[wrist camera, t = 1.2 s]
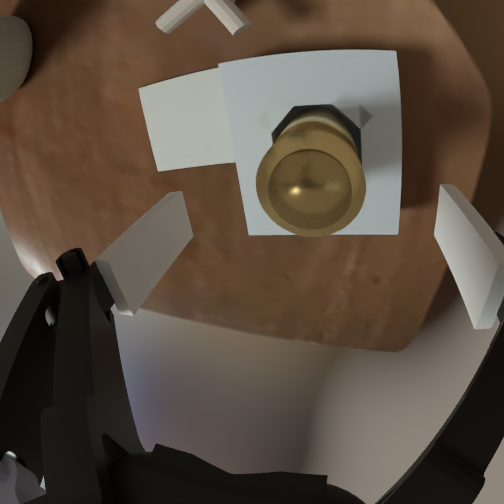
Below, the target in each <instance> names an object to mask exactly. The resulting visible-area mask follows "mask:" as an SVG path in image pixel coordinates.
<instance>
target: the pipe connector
mask: <svg viewBox="0 0 504 504" xmlns="http://www.w3.org/2000/svg"><path fill="white" fill-rule="evenodd" d="M205 4H206V5H207V6H208V8H209V9H210V10H211V11H212V12H213V13H214V14H215V15H216V16H217V18H218V19H219V20H220V21H221V22H222V23H223V24H224V25H225V27H226V28H227V29H228V30H229V31H230V32H231V34H232V35H233V36H237V35H239V34H241V33H243V32H245V31H246V30H247V29H249V28H250V27H251V25H252V23H251V22H250V21H249V19H248V18H247V17H246V16H245V15H244V14H243V13H242V11H241V10H240V9H239V8H238V7H237V6H236V5H235V0H179V1H178V2H177V3H176V4H174V5H173V6H172V7H171V8H170V9H169V10H168V11H166V12H165V13H164V14H163V15H162V16H161V17H160V18H159V19H158V20H157V21H156V25H157V26H158V27H159V28H160V29H161V30H162V31H163V32H165V33H167V34H170V33H171V32H172V31H174V30H175V29H176V28H177V27H178V26H179V25H180V24H182V23H183V22H184V21H185V20H186V19H187V18H189V17H190V16H191V15H192V14H193V13H195V12H196V11H197V10H198V9H200V8H201V7H202V6H203V5H205Z"/></svg>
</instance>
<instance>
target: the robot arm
mask: <svg viewBox="0 0 504 504" xmlns="http://www.w3.org/2000/svg"><path fill="white" fill-rule="evenodd" d="M434 236H435V238H436V240H437V242H438V244H439V246H440V248H441V250H442V252H443V254H444V256H445V258H446V261H447V263H448V265H449V267H450V269H451V272H452V274H453V276H454V278H455V281H456V283H457V285H458V288H459V290H460V293H461V295H462V297H463V300H464V303H465V305H466V308H467V310H468V313H469V316H470V318H471V321H472V324H473V327H474V329H485V328H491V327H492V325H493V323H494V321H495V318H496V316H498V319H499V321H500V325H499V328H498V330H497V332H496V334H495V336H494V338H493V340H492V342H491V344H490V347H489V349H488V351H487V353H486V355H485V357H484V359H483V361H482V363H481V364H480V366H479V368H478V370H477V372H476V374H475V375H474V377H473V379H472V381H471V382H470V384H469V386H468V388H467V389H466V391H465V393H464V394H463V396H462V398H461V399H460V401H459V403H458V404H457V405H456V407H455V409H454V410H453V412H452V413H451V415H450V416H449V418H448V419H447V420H446V422H445V423H444V425H443V426H442V428H441V429H440V430H439V432H438V433H437V434H436V436H435V437H434V439H433V440H432V441H431V442H430V444H429V445H428V446H427V448H426V449H425V450H424V451H423V453H422V454H421V455H420V456H419V457H418V459H417V460H416V461H415V462H414V463H413V465H412V466H411V467H410V468H409V469H408V470H407V472H406V473H405V474H404V475H403V476H402V477H401V478H400V479H399V480H398V482H396V483H395V484H394V485H393V487H391V488H390V490H388V491H387V493H385V494H384V495H383V496H382V497H381V498H380V499H379V500H378V501H377V502H376V503H375V504H472V503H473V502H474V500H475V499H476V497H477V495H478V494H479V492H480V491H481V489H482V487H483V486H484V482H485V477H484V476H483V475H484V472H485V470H486V468H487V466H488V464H489V463H490V461H491V460H492V458H493V456H494V454H495V452H496V451H497V449H498V447H499V445H500V443H501V441H502V439H503V437H504V237H503V236H502V235H501V234H499V233H498V232H493V231H492V229H491V228H490V227H489V225H488V224H487V223H486V222H485V220H484V219H483V218H482V217H481V216H480V215H479V213H478V212H477V211H476V210H475V208H474V207H473V206H472V205H471V204H470V203H469V201H468V200H467V199H466V198H465V197H464V196H463V195H462V193H461V192H460V191H459V190H458V189H457V188H456V187H455V186H454V185H446V184H440V190H439V200H438V209H437V217H436V225H435V232H434ZM192 237H193V233H192V229H191V225H190V222H189V218H188V214H187V210H186V206H185V202H184V198H183V194H182V191H178V192H169V193H168V194H167V195H166V196H165V197H163V198H162V199H161V200H160V201H159V202H158V203H156V204H155V205H154V206H153V207H152V208H151V209H149V210H148V211H147V212H146V213H145V214H144V215H143V216H141V217H140V218H139V219H138V220H137V221H136V222H135V223H134V224H132V225H131V226H130V227H129V228H128V229H127V230H126V231H125V232H124V233H123V234H121V235H120V236H119V237H118V238H117V239H116V240H115V241H114V242H113V243H112V244H111V245H110V246H109V247H108V248H107V249H105V250H104V251H103V252H102V253H101V254H100V255H99V256H98V257H97V258H96V259H95V261H94V262H93V263H92V264H91V265H90V266H89V264H88V262H87V260H86V257H85V255H84V253H83V251H82V249H81V248H74V249H71V250H69V251H67V252H65V253H63V254H62V255H61V256H60V257H59V258H58V259H57V260H56V264H57V266H58V268H59V270H60V272H61V274H62V276H63V278H64V279H63V280H60V281H57V280H56V279H55V277H54V275H53V273H52V272H47V273H44V274H41V275H39V276H38V277H37V278H36V279H35V280H34V281H33V282H32V284H31V285H30V287H29V289H28V291H27V292H26V294H25V296H24V298H23V300H22V301H21V303H20V305H19V307H18V308H17V310H16V312H15V314H14V316H13V318H12V320H11V322H10V324H9V326H8V328H7V330H6V332H5V334H4V336H3V338H2V340H1V342H0V504H365V503H364V502H363V501H362V500H361V499H359V498H358V497H356V496H355V495H353V494H351V493H350V492H348V491H346V490H344V489H342V488H339V487H337V486H334V485H330V484H327V477H328V476H327V475H312V474H300V473H290V472H282V471H281V472H270V473H256V474H230V473H228V472H226V471H224V470H222V469H219V468H218V467H216V466H214V465H212V464H210V463H208V462H206V461H204V460H202V459H200V458H198V457H196V456H195V455H193V454H190V453H186V452H183V451H179V450H176V449H173V448H169V447H166V446H163V445H159V444H156V445H155V447H154V449H153V451H152V452H146V451H145V449H144V448H143V446H142V445H141V443H140V440H139V438H138V434H137V430H136V426H135V423H134V419H133V415H132V411H131V407H130V403H129V398H128V394H127V389H126V385H125V380H124V375H123V370H122V365H121V359H120V354H119V348H118V342H117V335H116V329H115V322H114V315H113V313H112V311H111V309H110V308H111V307H112V306H113V304H114V303H115V305H116V307H117V309H118V311H119V312H120V314H125V315H132V316H134V314H135V313H136V312H137V310H138V309H139V308H140V306H141V305H142V303H143V302H144V301H145V299H146V298H147V297H148V295H149V294H150V292H151V291H152V290H153V288H154V287H155V286H156V284H157V283H158V282H159V280H160V279H161V278H162V276H163V275H164V274H165V272H166V271H167V270H168V268H169V267H170V266H171V264H172V263H173V262H174V260H175V259H176V258H177V257H178V255H179V254H180V253H181V251H182V250H183V249H184V247H185V246H186V245H187V244H188V242H189V241H190V240H191V238H192ZM45 313H46V315H47V316H48V318H49V319H50V321H51V324H50V326H49V325H48V323H47V321H46V317H45ZM5 453H6V454H5ZM43 475H44V480H45V489H46V490H44V489H43V488H42V487H40V485H41V482H42V479H43Z"/></svg>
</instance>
